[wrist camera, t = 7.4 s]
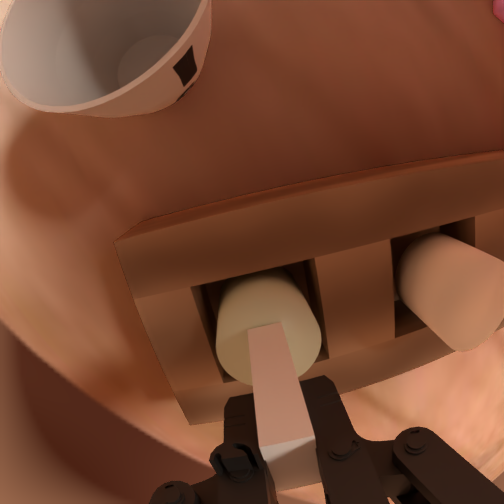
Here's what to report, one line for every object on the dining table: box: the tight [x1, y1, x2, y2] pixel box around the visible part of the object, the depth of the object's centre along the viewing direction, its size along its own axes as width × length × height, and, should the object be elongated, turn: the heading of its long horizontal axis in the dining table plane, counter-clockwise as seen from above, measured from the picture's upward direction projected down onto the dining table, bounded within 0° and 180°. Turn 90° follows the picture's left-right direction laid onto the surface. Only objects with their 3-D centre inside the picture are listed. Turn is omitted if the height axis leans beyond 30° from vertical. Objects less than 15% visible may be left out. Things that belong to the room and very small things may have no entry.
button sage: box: [216, 266, 321, 386], centre depth 16 cm, size 5×5×5 cm
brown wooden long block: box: [114, 150, 504, 425], centre depth 18 cm, size 12×32×5 cm, turn 103°
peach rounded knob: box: [395, 232, 504, 352], centre depth 14 cm, size 5×5×5 cm
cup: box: [0, 0, 212, 118], centre depth 12 cm, size 8×8×10 cm
